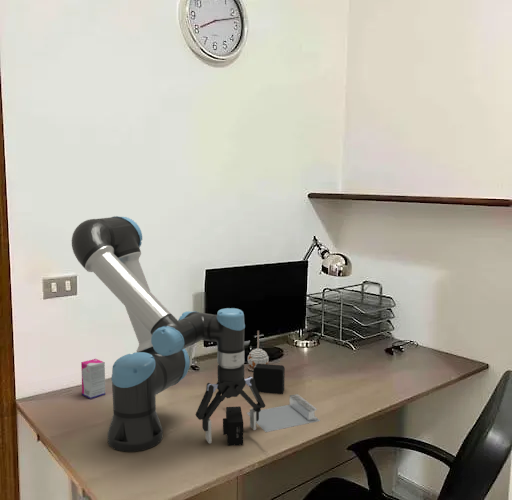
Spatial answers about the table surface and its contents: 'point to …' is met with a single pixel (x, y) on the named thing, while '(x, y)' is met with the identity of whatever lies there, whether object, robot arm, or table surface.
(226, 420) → the digital camera
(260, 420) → the mounting plate
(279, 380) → the electronic device
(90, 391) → the supplement box
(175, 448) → the table surface
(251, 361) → the decorative ornament
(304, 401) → the rail
